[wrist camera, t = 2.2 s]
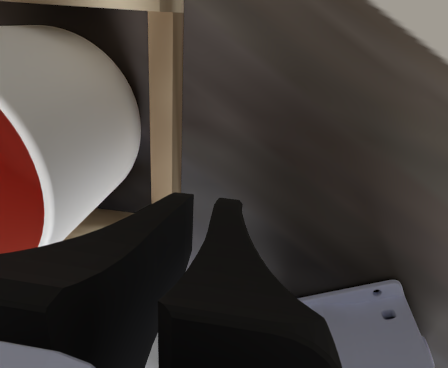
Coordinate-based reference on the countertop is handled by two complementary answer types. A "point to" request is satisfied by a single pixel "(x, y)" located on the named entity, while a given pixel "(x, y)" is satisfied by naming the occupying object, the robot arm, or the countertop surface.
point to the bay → (151, 98)
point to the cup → (59, 133)
